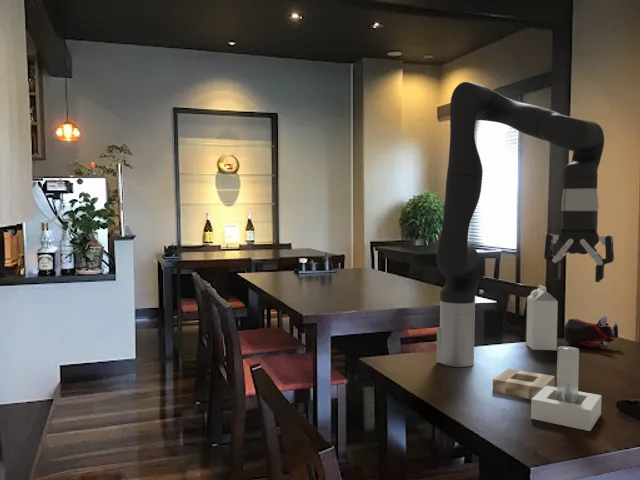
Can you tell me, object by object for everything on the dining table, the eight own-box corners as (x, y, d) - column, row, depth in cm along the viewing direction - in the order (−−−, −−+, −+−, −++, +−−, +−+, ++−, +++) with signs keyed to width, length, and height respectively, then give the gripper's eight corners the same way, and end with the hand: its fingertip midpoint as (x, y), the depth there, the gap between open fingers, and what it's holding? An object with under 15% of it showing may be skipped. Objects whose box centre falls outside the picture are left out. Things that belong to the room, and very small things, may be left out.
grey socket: (530, 418, 115) (531, 399, 114) (545, 403, 124) (545, 385, 123) (590, 431, 108) (590, 410, 108) (600, 414, 117) (601, 395, 117)
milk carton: (549, 345, 177) (550, 284, 176) (556, 350, 170) (558, 287, 169) (526, 344, 178) (527, 284, 177) (532, 350, 171) (533, 287, 169)
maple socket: (492, 391, 131) (492, 379, 131) (507, 380, 140) (508, 368, 140) (541, 401, 125) (542, 388, 125) (554, 388, 134) (554, 376, 134)
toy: (616, 307, 172) (562, 308, 177) (619, 332, 165) (563, 332, 171) (615, 332, 179) (564, 332, 185) (619, 357, 172) (565, 356, 178)
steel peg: (553, 417, 116) (555, 349, 115) (558, 411, 119) (560, 345, 118) (574, 421, 113) (576, 352, 112) (579, 415, 116) (580, 348, 116)
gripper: (542, 209, 130) (540, 279, 131) (611, 209, 121) (609, 284, 122) (550, 209, 136) (549, 276, 137) (617, 209, 127) (615, 281, 128)
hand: (577, 280), depth 129 cm, fingers open, 8 cm apart
